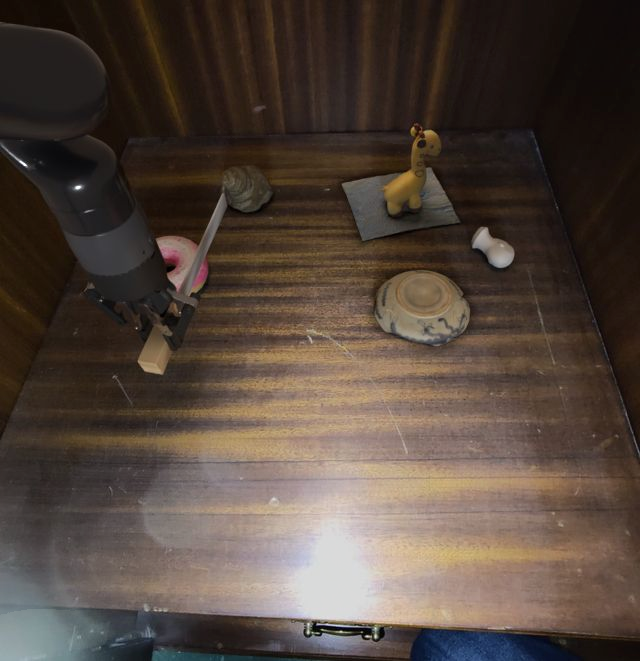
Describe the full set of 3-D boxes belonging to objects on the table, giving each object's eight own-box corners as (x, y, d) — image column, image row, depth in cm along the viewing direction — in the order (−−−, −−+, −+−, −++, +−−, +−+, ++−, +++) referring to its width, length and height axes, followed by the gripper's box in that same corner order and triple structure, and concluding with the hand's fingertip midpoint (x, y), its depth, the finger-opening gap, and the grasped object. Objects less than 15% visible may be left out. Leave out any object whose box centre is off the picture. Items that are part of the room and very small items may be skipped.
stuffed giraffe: (460, 223, 92) (474, 143, 79) (362, 243, 91) (361, 166, 78) (430, 170, 102) (439, 92, 89) (342, 188, 101) (337, 111, 88)
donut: (163, 325, 82) (153, 305, 78) (115, 283, 87) (104, 262, 83) (227, 276, 87) (221, 256, 83) (178, 240, 93) (170, 219, 89)
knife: (162, 374, 62) (155, 364, 60) (144, 371, 63) (137, 361, 61) (234, 206, 78) (230, 193, 75) (218, 204, 78) (215, 191, 76)
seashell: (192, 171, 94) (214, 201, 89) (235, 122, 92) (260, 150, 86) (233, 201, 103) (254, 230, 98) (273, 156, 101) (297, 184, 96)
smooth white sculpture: (513, 271, 87) (492, 275, 84) (484, 240, 91) (463, 244, 89) (527, 251, 84) (505, 255, 81) (496, 221, 88) (474, 224, 85)
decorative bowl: (356, 294, 84) (407, 362, 76) (356, 279, 81) (409, 348, 73) (433, 261, 88) (489, 323, 80) (436, 245, 85) (495, 308, 77)
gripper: (32, 263, 50) (102, 359, 64) (166, 283, 47) (208, 378, 61) (70, 210, 54) (127, 311, 68) (195, 226, 52) (228, 327, 66)
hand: (165, 342), depth 65 cm, fingers closed on knife, 2 cm apart
